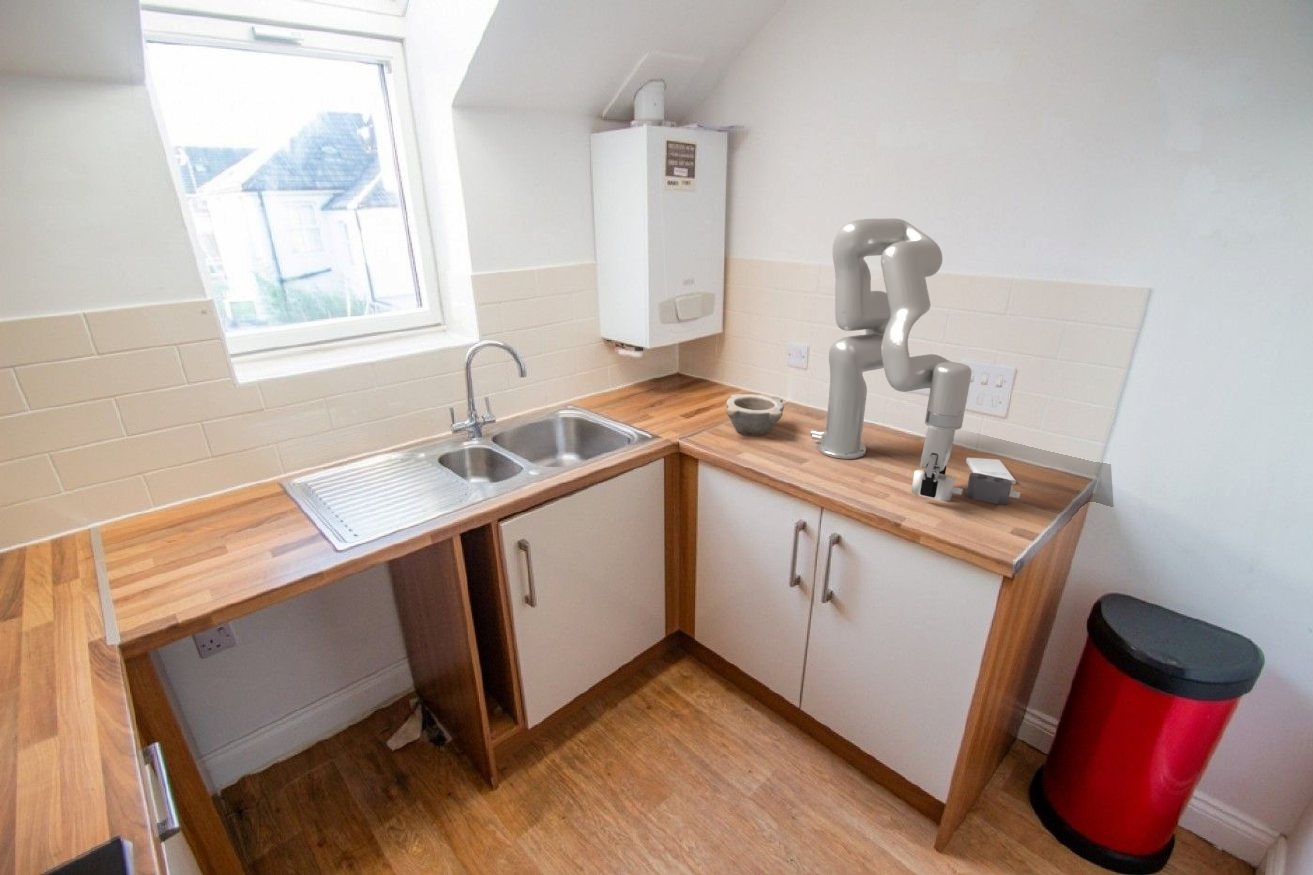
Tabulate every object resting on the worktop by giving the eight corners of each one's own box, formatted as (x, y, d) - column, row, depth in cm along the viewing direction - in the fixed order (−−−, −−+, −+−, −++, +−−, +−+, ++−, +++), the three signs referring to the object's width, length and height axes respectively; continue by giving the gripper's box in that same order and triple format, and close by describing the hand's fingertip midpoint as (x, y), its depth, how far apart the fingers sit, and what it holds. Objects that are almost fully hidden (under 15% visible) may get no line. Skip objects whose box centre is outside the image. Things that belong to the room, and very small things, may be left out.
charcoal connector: (964, 496, 139) (968, 477, 137) (967, 490, 142) (970, 471, 140) (1016, 508, 134) (1021, 488, 132) (1018, 502, 136) (1023, 482, 135)
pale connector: (909, 493, 141) (912, 473, 139) (913, 487, 144) (916, 468, 142) (958, 504, 136) (962, 484, 134) (961, 498, 138) (965, 478, 136)
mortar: (780, 443, 171) (783, 413, 168) (721, 438, 175) (722, 408, 171) (783, 423, 186) (785, 395, 183) (728, 419, 190) (729, 391, 187)
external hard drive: (999, 465, 156) (1015, 486, 145) (965, 463, 158) (978, 483, 147) (1000, 459, 156) (1016, 479, 144) (966, 457, 157) (979, 477, 146)
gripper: (934, 405, 142) (923, 471, 148) (917, 426, 129) (906, 498, 135) (969, 410, 138) (956, 478, 144) (955, 433, 125) (942, 506, 131)
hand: (932, 487), depth 140 cm, fingers open, 9 cm apart
